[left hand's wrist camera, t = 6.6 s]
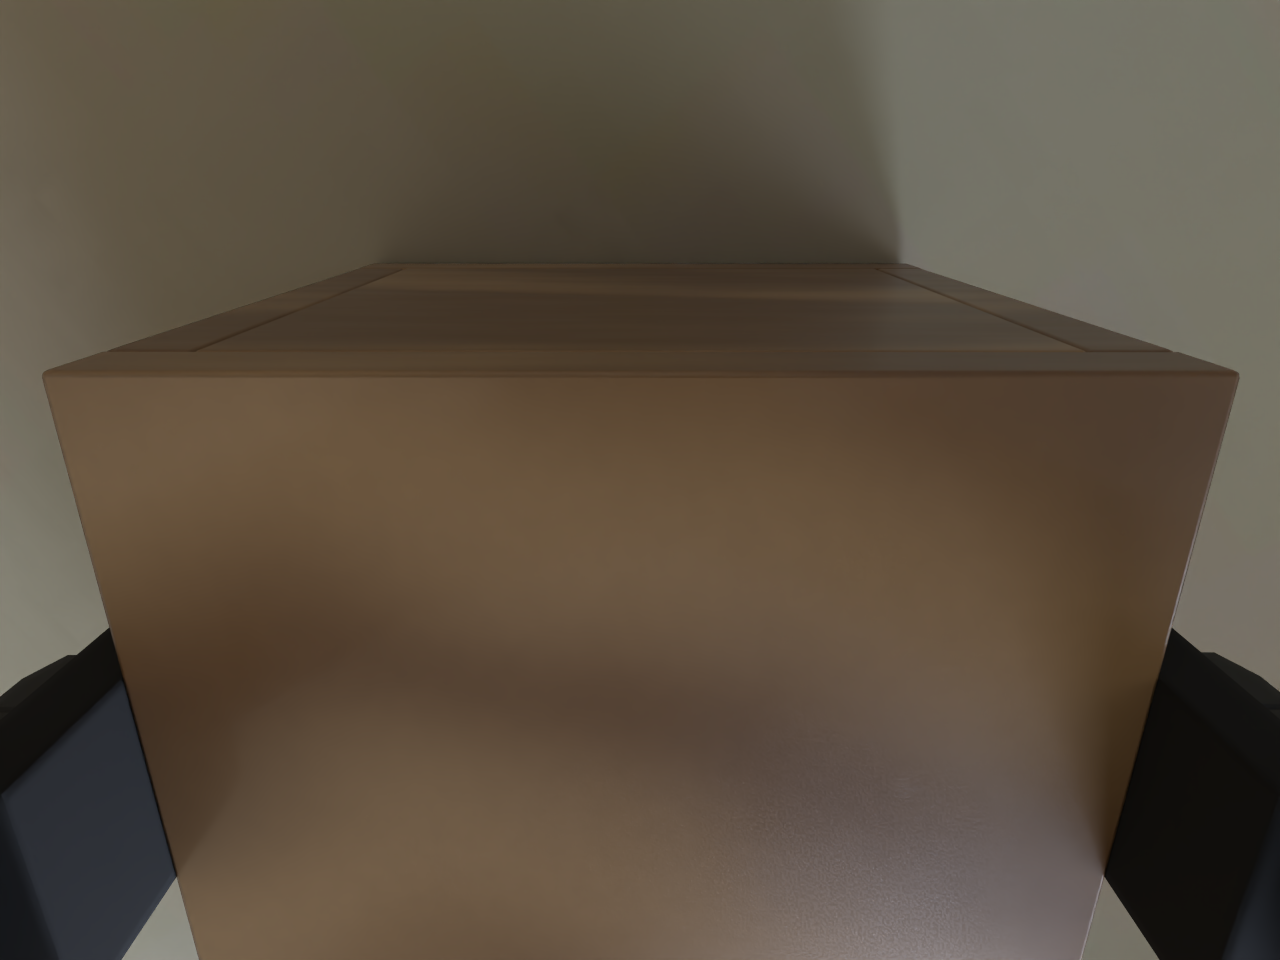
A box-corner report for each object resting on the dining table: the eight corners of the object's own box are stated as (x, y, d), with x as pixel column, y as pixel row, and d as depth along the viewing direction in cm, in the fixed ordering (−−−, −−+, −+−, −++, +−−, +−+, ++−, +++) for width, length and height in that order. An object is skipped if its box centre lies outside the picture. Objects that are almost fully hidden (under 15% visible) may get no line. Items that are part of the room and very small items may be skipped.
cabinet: (826, 973, 23) (943, 1476, 14) (453, 973, 23) (336, 1476, 14) (907, 263, 16) (1244, 370, 7) (372, 263, 16) (36, 371, 7)
